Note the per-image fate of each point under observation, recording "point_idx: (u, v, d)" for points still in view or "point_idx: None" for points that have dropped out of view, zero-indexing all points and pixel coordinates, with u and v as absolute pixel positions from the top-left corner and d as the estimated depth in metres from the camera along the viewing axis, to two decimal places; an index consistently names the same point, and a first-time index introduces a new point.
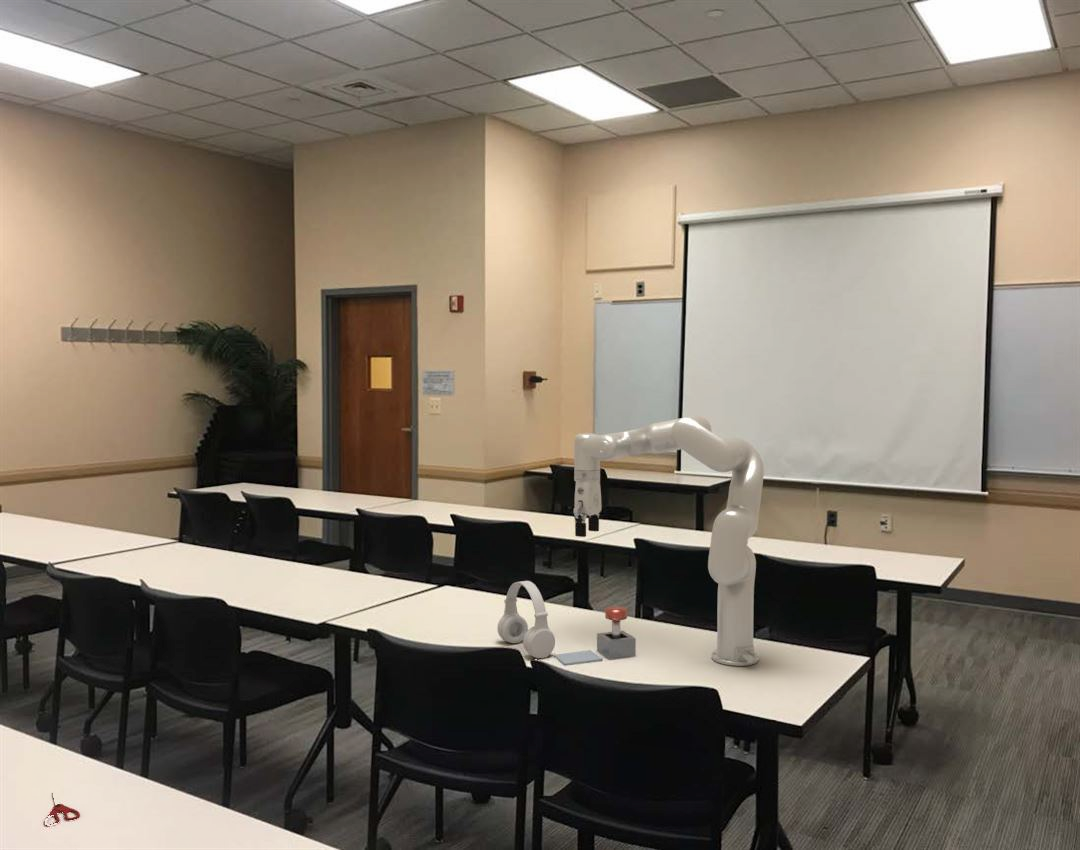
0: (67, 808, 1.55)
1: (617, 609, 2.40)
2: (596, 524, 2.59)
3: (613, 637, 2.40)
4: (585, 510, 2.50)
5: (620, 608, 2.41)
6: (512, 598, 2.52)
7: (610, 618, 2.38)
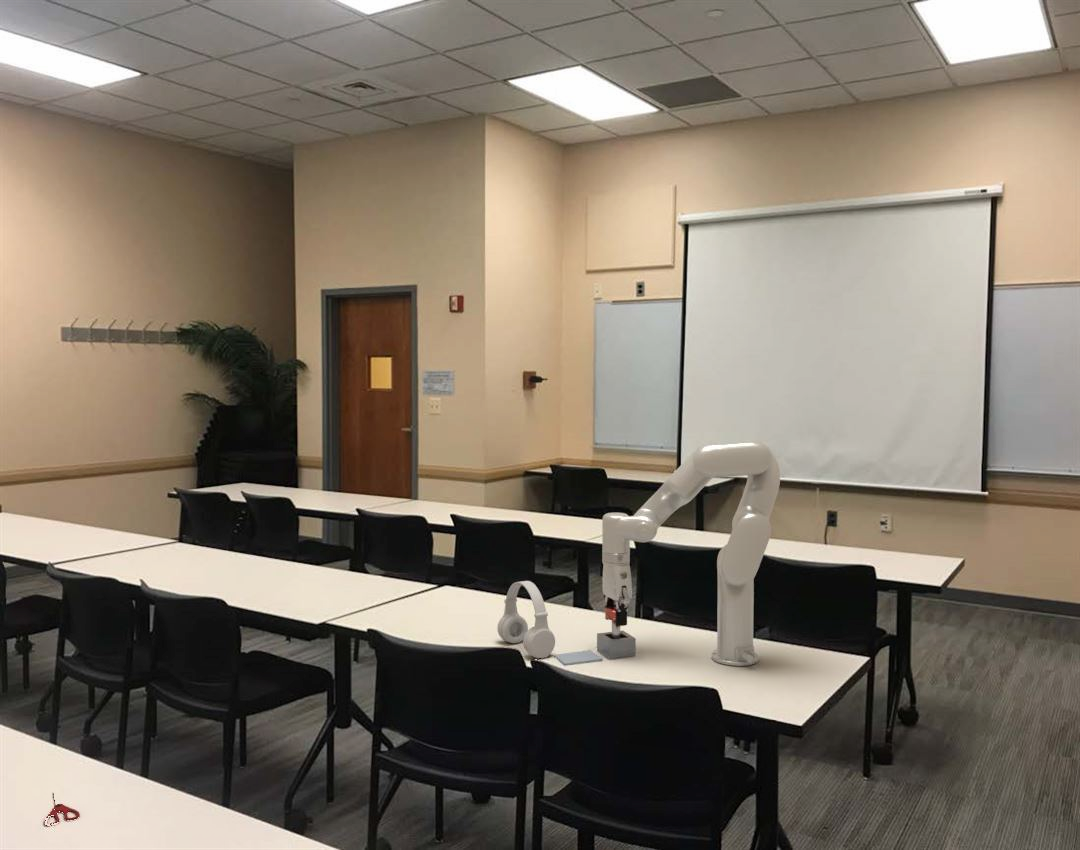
0: (67, 808, 1.55)
1: None
2: None
3: (613, 637, 2.40)
4: (628, 598, 2.37)
5: None
6: (512, 598, 2.52)
7: (610, 618, 2.38)
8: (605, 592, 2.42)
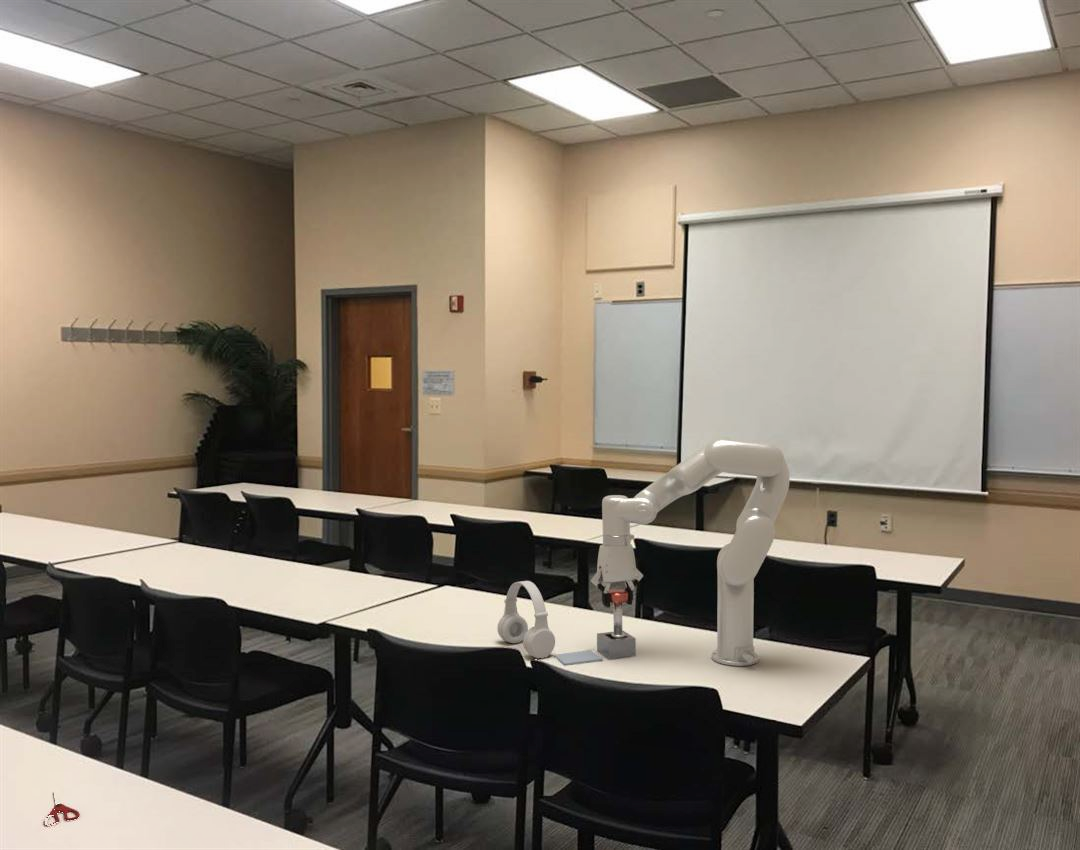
0: (67, 808, 1.55)
1: (619, 591, 2.41)
2: None
3: (621, 620, 2.40)
4: None
5: (616, 590, 2.41)
6: (512, 598, 2.52)
7: (626, 600, 2.39)
8: (612, 578, 2.37)
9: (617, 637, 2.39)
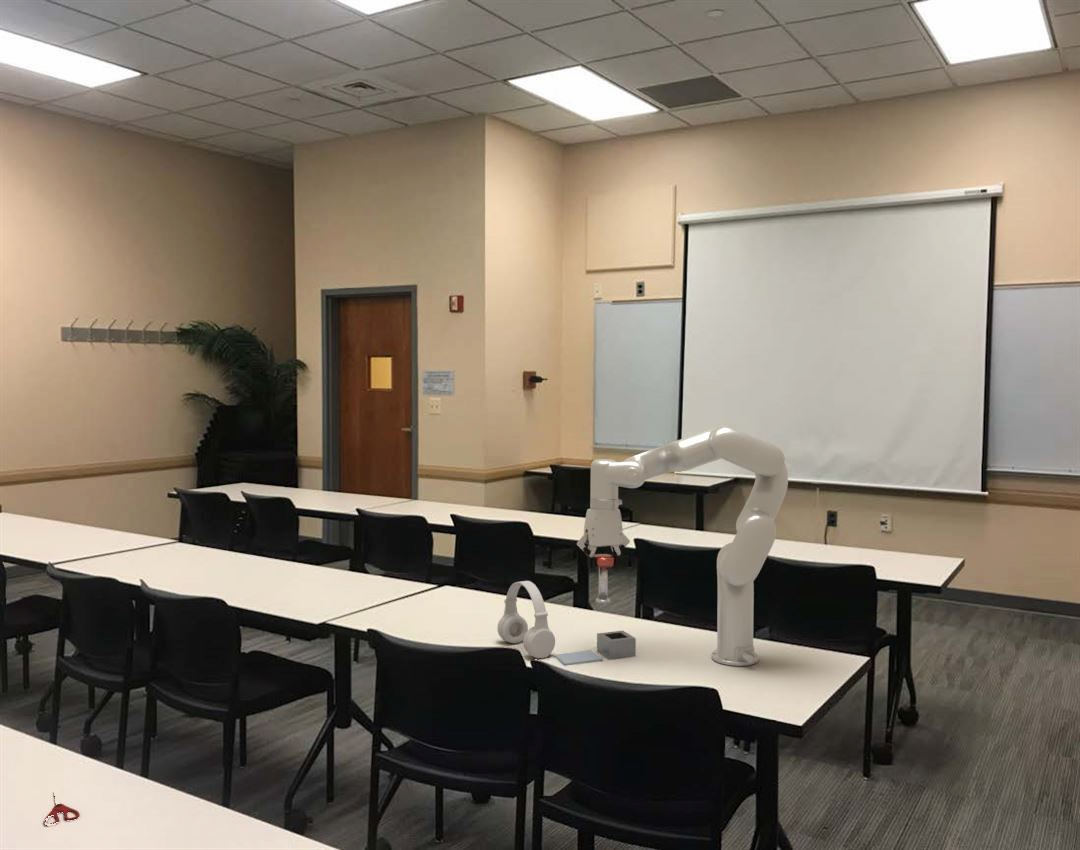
0: (67, 808, 1.55)
1: (605, 555, 2.39)
2: None
3: (606, 584, 2.38)
4: None
5: (603, 555, 2.40)
6: (512, 598, 2.52)
7: (612, 564, 2.37)
8: (598, 542, 2.35)
9: (601, 602, 2.37)
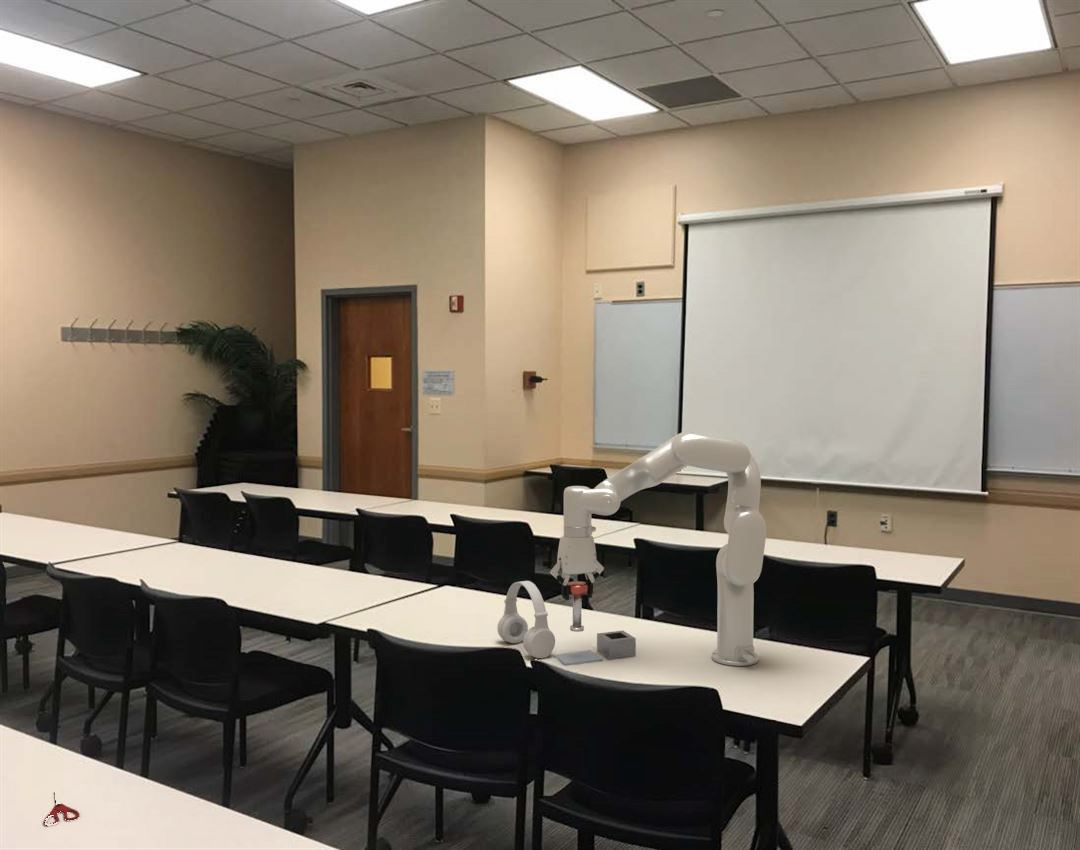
0: (67, 808, 1.55)
1: (579, 583, 2.37)
2: None
3: (580, 612, 2.36)
4: None
5: (576, 582, 2.37)
6: (512, 598, 2.52)
7: (586, 592, 2.34)
8: (572, 570, 2.33)
9: (575, 630, 2.35)
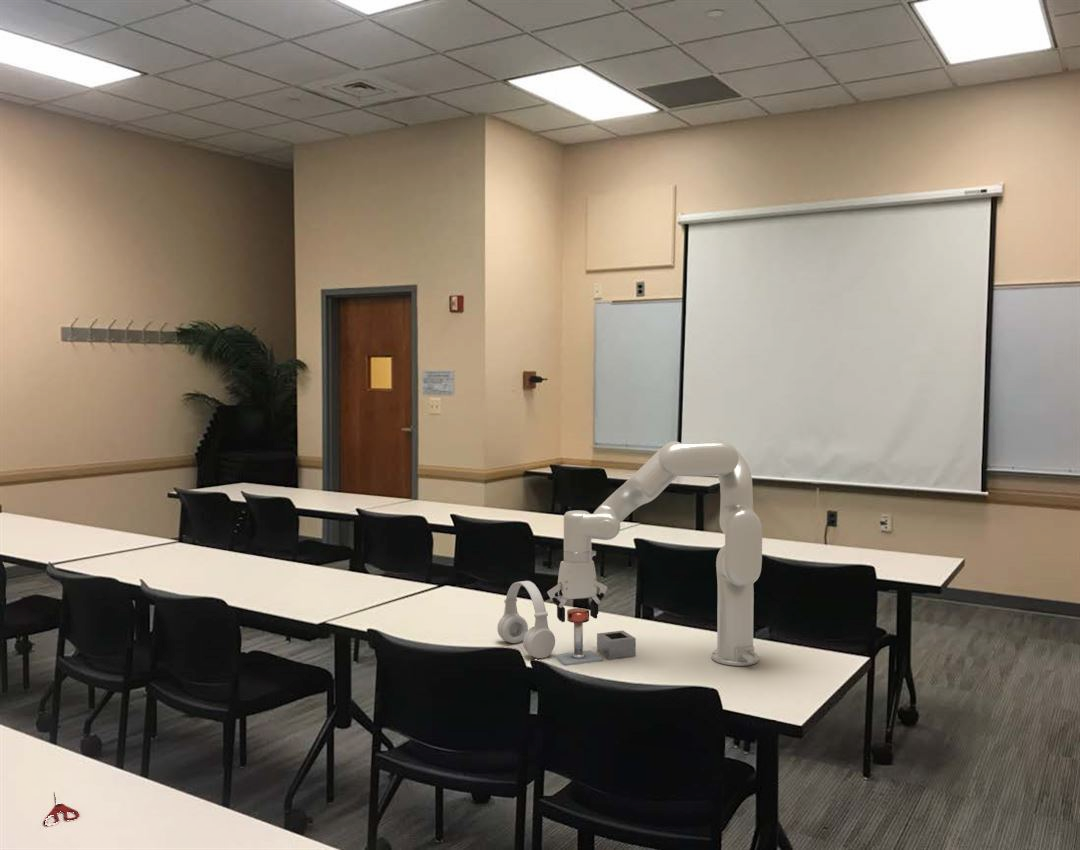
0: (67, 808, 1.55)
1: (580, 610, 2.37)
2: None
3: (581, 640, 2.36)
4: None
5: (577, 610, 2.38)
6: (512, 598, 2.52)
7: (587, 620, 2.35)
8: (572, 595, 2.33)
9: (577, 657, 2.35)
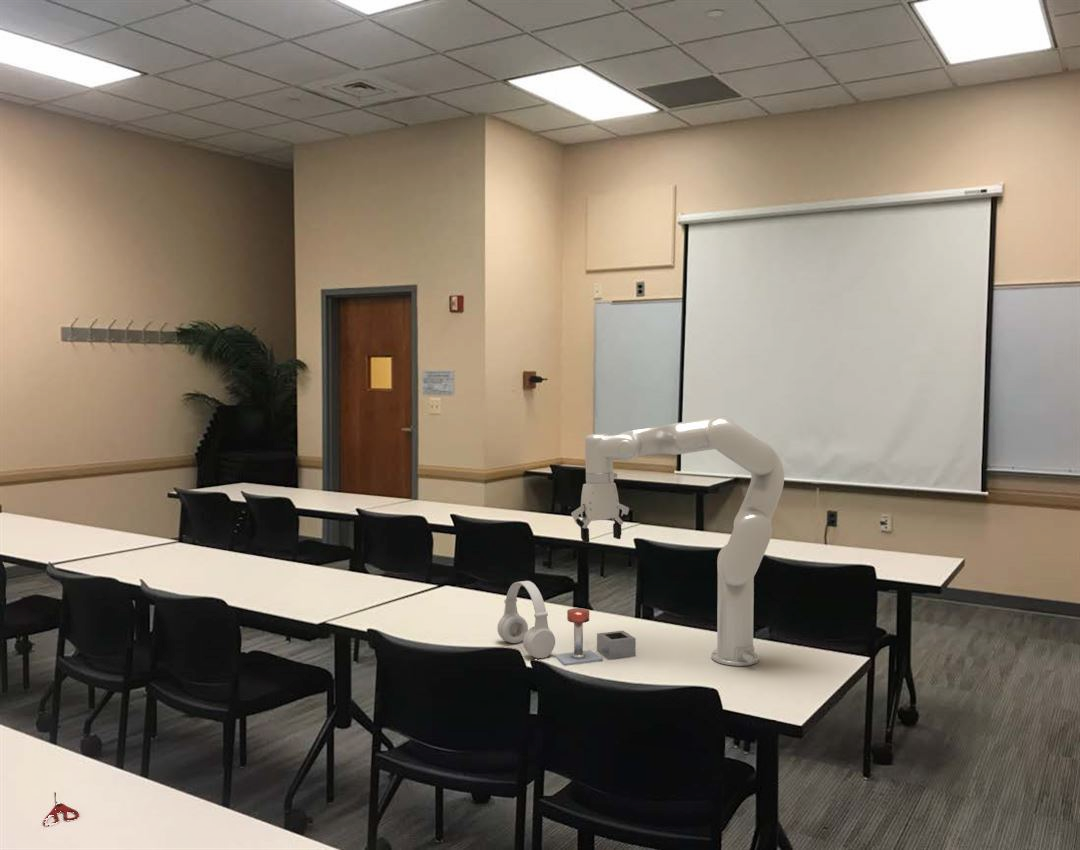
0: (67, 808, 1.55)
1: (580, 610, 2.37)
2: None
3: (581, 640, 2.36)
4: None
5: (578, 610, 2.38)
6: (512, 598, 2.52)
7: (587, 620, 2.35)
8: (596, 516, 2.38)
9: (577, 657, 2.35)
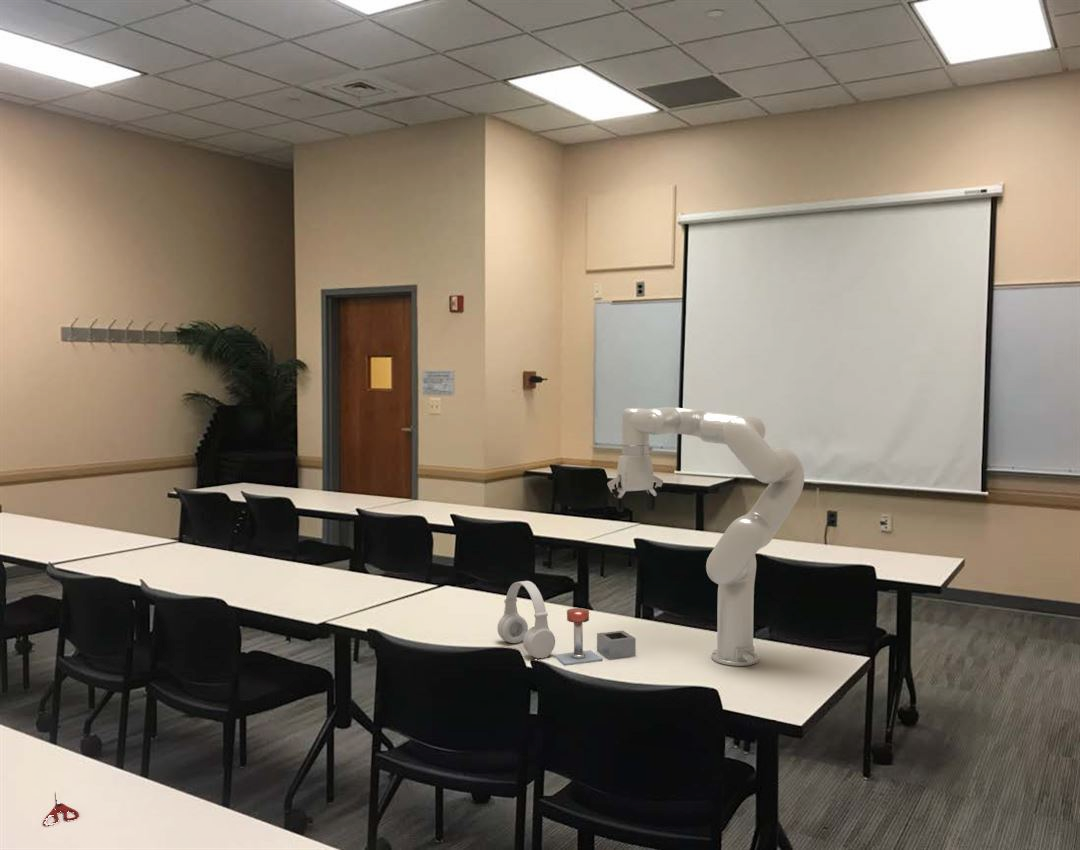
0: (67, 808, 1.55)
1: (579, 610, 2.37)
2: None
3: (581, 640, 2.36)
4: None
5: (577, 609, 2.38)
6: (512, 598, 2.52)
7: (587, 619, 2.35)
8: (631, 487, 2.47)
9: (577, 657, 2.35)
